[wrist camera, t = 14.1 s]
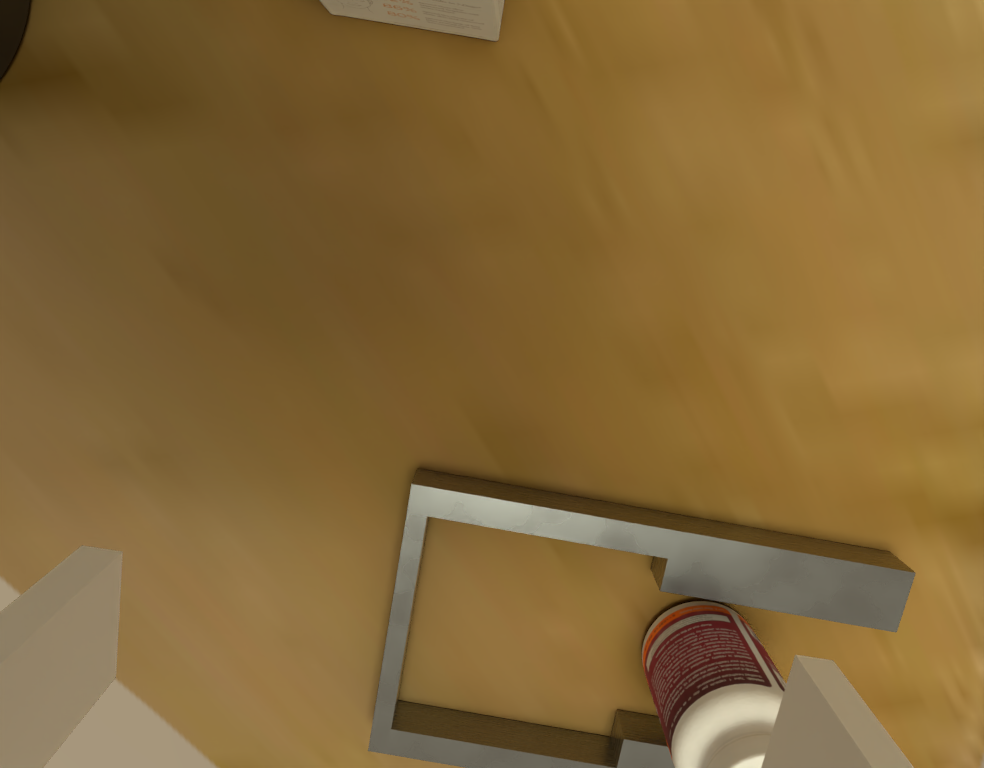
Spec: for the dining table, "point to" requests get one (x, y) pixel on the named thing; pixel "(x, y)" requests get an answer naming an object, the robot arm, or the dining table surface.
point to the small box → (428, 14)
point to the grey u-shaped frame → (677, 569)
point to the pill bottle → (711, 686)
